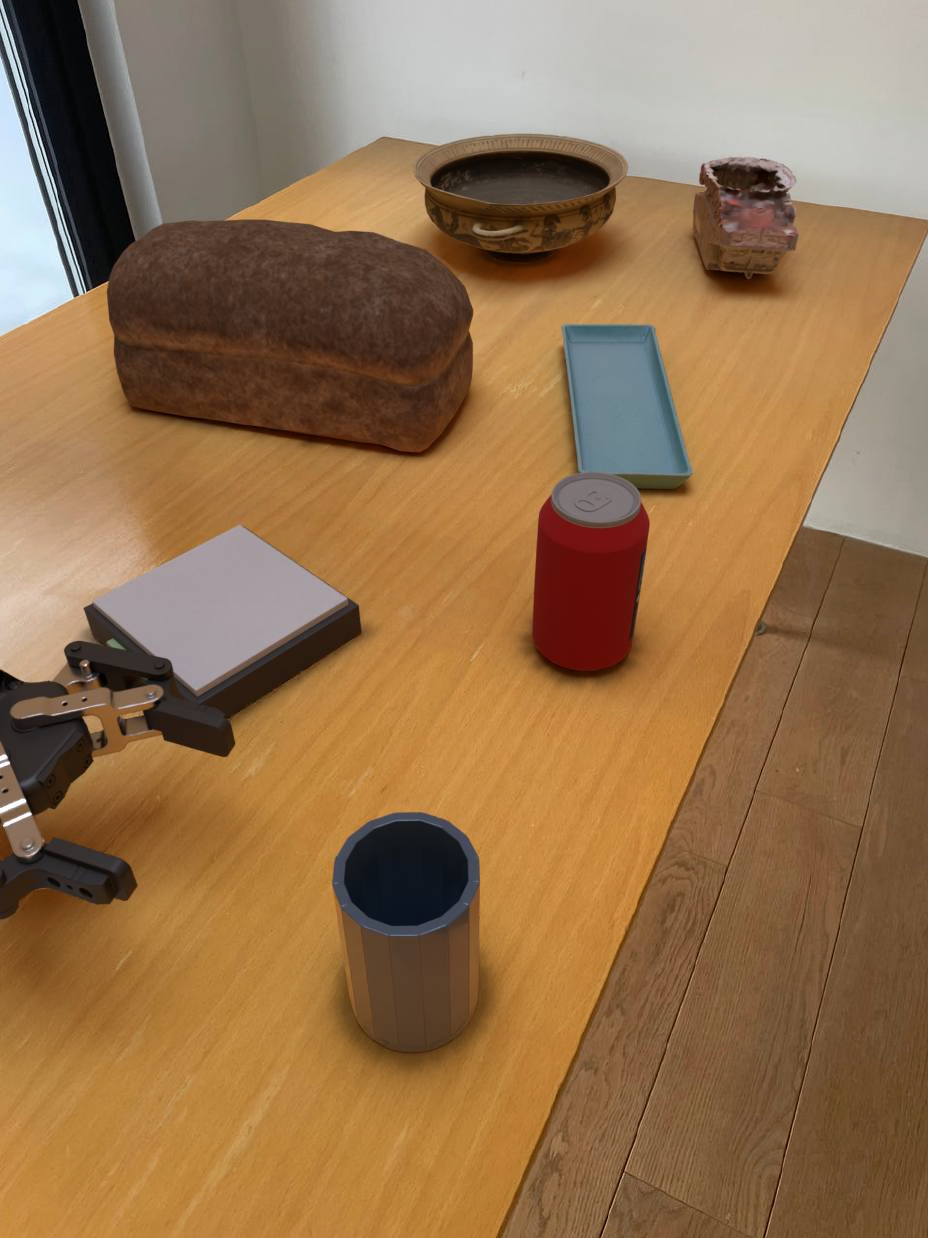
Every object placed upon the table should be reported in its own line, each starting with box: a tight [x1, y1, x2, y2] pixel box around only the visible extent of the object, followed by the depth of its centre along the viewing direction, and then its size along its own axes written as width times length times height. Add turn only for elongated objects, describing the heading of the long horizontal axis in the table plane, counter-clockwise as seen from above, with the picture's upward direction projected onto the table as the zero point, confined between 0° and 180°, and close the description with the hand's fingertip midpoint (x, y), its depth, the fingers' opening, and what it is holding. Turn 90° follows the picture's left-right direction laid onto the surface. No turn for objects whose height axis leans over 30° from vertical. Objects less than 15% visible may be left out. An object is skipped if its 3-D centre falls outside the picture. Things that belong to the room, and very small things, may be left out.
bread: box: [106, 218, 474, 453], centre depth 88 cm, size 15×32×16 cm, turn 73°
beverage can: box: [531, 472, 650, 672], centre depth 64 cm, size 7×7×12 cm
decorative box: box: [692, 156, 800, 280], centre depth 113 cm, size 13×20×10 cm, turn 171°
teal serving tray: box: [561, 323, 694, 490], centre depth 90 cm, size 26×9×2 cm, turn 179°
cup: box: [331, 811, 481, 1054], centre depth 46 cm, size 6×6×10 cm
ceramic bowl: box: [412, 133, 629, 265], centre depth 116 cm, size 30×24×10 cm
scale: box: [83, 524, 362, 720], centre depth 68 cm, size 14×13×3 cm
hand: (183, 805), depth 46 cm, fingers open, 8 cm apart
